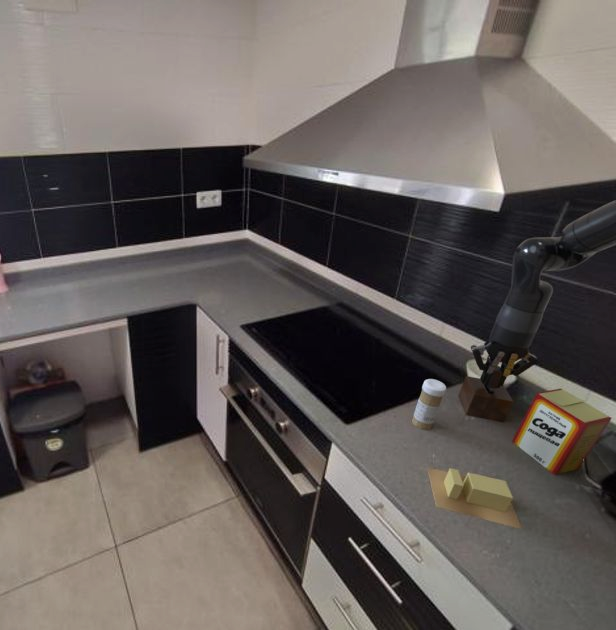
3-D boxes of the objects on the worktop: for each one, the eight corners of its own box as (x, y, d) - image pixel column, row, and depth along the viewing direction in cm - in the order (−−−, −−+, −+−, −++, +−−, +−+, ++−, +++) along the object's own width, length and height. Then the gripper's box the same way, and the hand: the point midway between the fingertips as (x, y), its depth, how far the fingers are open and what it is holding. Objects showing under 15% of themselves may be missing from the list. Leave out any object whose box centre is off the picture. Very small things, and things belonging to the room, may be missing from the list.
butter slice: (452, 483, 78) (458, 469, 76) (457, 499, 75) (463, 486, 73) (443, 481, 78) (449, 467, 77) (448, 497, 75) (454, 483, 73)
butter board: (501, 489, 78) (503, 485, 78) (520, 533, 70) (522, 529, 69) (425, 470, 82) (427, 466, 82) (434, 510, 74) (436, 506, 73)
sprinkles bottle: (429, 424, 95) (445, 381, 89) (431, 437, 91) (448, 392, 85) (409, 419, 96) (423, 376, 90) (410, 431, 93) (425, 387, 87)
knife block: (490, 406, 101) (501, 381, 97) (501, 426, 94) (513, 401, 90) (456, 399, 103) (465, 375, 99) (463, 419, 96) (474, 394, 93)
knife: (482, 403, 99) (499, 365, 93) (486, 412, 96) (504, 373, 90) (474, 401, 99) (490, 363, 94) (478, 410, 96) (495, 371, 91)
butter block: (498, 494, 76) (505, 481, 74) (505, 512, 72) (513, 498, 70) (461, 485, 78) (467, 472, 76) (466, 502, 74) (473, 488, 72)
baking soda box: (575, 473, 81) (612, 416, 74) (551, 479, 80) (587, 422, 73) (531, 441, 90) (561, 387, 82) (509, 446, 88) (537, 391, 81)
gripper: (486, 326, 85) (462, 388, 93) (561, 336, 81) (529, 400, 89) (476, 312, 92) (454, 371, 100) (545, 321, 88) (517, 381, 96)
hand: (490, 384), depth 94 cm, fingers closed on knife, 2 cm apart
